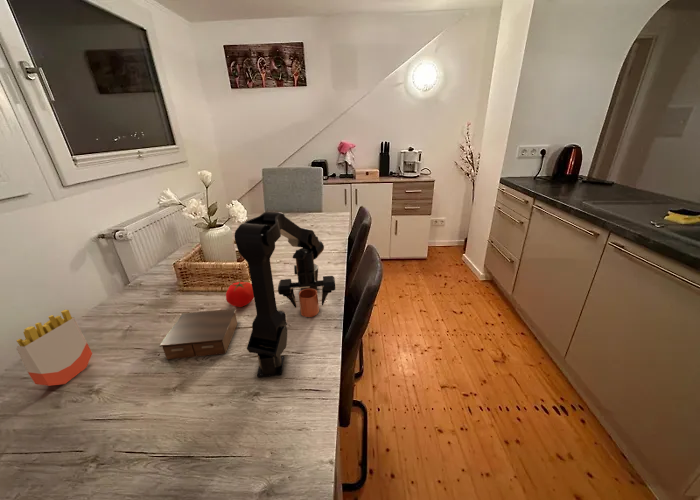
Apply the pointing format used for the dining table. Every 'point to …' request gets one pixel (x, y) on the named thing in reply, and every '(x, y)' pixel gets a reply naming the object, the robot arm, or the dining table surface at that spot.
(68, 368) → the french fries container
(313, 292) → the cup
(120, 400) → the dining table surface
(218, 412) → the dining table surface
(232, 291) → the tomato
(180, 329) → the low cabinet
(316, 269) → the coffee mug
